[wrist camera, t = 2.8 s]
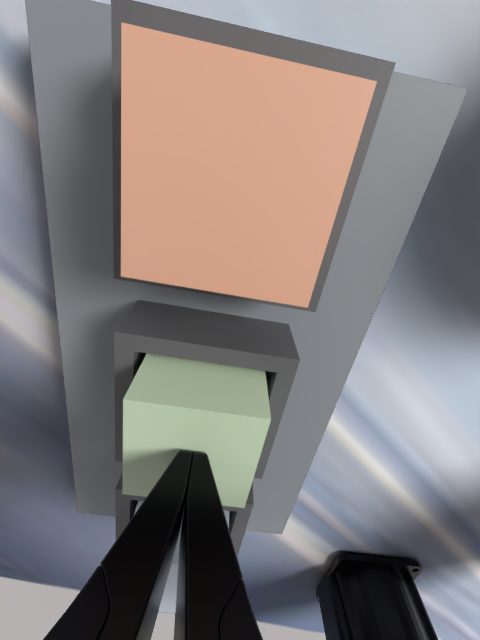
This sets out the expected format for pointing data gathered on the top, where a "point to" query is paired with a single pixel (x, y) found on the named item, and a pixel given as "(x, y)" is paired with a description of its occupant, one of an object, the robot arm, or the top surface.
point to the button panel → (199, 305)
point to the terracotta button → (231, 165)
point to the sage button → (194, 423)
